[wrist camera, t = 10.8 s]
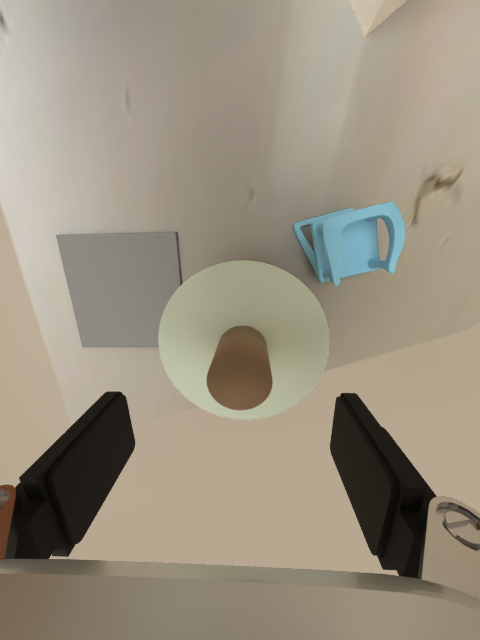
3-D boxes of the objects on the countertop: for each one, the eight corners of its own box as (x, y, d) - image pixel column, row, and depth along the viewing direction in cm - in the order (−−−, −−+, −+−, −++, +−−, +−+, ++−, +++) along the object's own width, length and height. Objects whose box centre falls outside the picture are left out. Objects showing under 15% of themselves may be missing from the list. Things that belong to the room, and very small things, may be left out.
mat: (59, 235, 32) (56, 235, 31) (176, 232, 31) (175, 231, 30) (85, 345, 37) (82, 347, 36) (187, 345, 36) (186, 347, 35)
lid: (151, 261, 17) (105, 265, 12) (334, 258, 17) (376, 260, 11) (170, 412, 21) (142, 468, 16) (319, 415, 21) (344, 474, 15)
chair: (302, 284, 32) (330, 302, 21) (292, 223, 30) (318, 206, 18) (357, 271, 31) (419, 282, 20) (351, 208, 29) (416, 179, 18)
